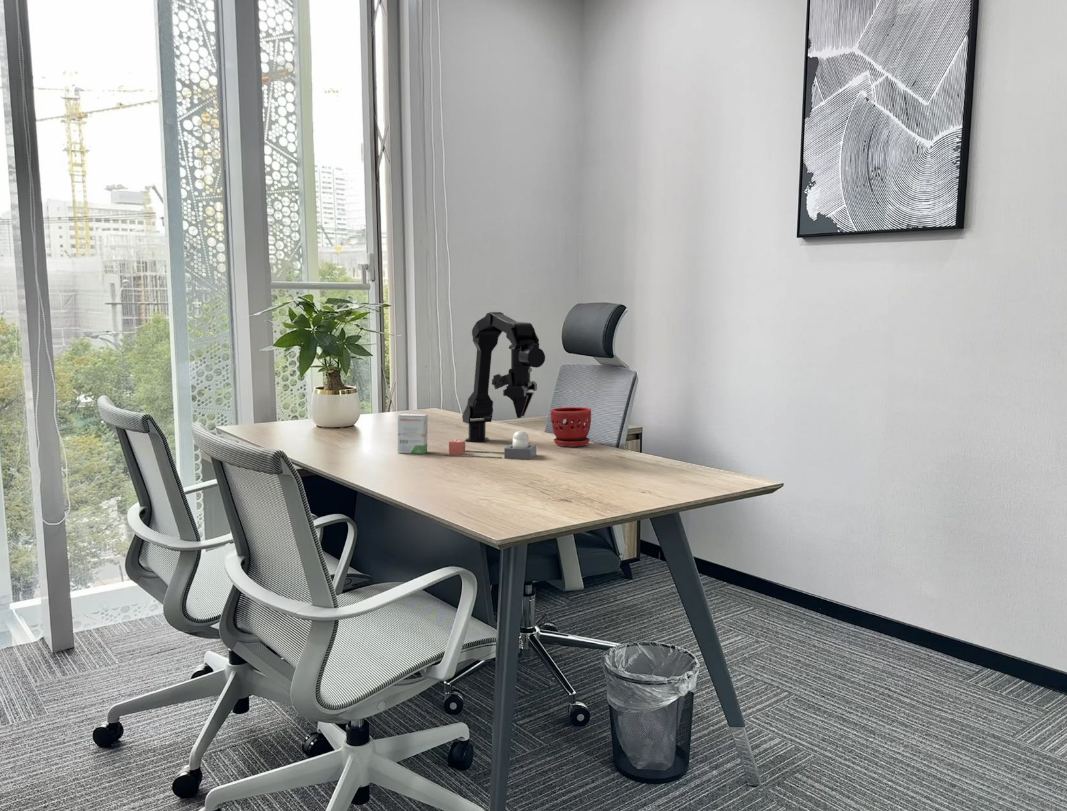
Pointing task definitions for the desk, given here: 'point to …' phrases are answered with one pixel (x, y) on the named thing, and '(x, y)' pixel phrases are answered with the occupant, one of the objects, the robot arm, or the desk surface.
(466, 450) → the track
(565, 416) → the plant pot
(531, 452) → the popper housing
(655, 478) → the desk surface
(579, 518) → the desk surface
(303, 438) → the desk surface
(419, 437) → the ink box
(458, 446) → the die
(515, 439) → the dome
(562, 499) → the desk surface
